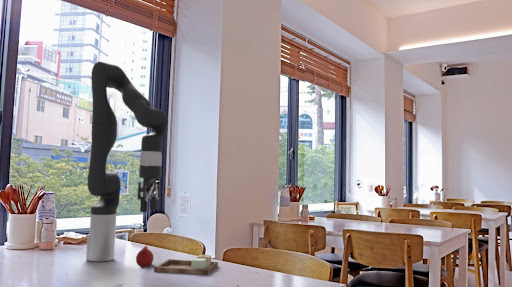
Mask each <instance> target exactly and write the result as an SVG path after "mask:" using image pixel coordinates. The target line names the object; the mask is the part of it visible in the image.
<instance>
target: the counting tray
mask: <svg viewBox="0 0 512 287" xmlns="http://www.w3.org/2000/svg"><path fill="white" fill-rule="evenodd" d="M191 260H192V259H191ZM191 260H189V259H188V260H187V259H168V258H167V259H166V260H165V261H163V262H161V263H159V264H157V265H155V266H153V272H154V273H165V274H170V273H171V274H185V275H186V274H187V275H199V276H200V275H201V276H208V275H210V274H211V273H212V272H214V270H215V269H217V268H218V266H219V262H218V261H211V266H209V267H208V268H207V269H192V268H191Z"/></svg>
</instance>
